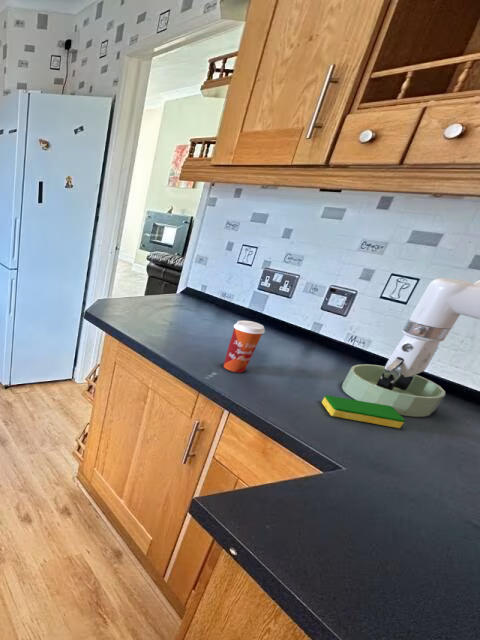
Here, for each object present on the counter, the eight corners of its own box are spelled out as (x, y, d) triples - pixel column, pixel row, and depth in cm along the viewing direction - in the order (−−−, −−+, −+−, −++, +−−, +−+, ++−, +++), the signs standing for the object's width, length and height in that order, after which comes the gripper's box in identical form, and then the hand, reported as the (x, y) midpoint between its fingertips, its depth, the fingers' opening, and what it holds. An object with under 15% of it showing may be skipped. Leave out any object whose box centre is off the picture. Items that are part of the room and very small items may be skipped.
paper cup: (223, 372, 122) (240, 327, 115) (216, 361, 128) (231, 318, 122) (252, 375, 120) (271, 330, 114) (244, 364, 127) (260, 321, 120)
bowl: (446, 407, 107) (459, 389, 104) (411, 423, 100) (424, 404, 97) (363, 376, 121) (372, 360, 119) (327, 388, 114) (336, 371, 112)
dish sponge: (400, 429, 98) (406, 420, 97) (330, 416, 102) (335, 408, 101) (386, 414, 104) (391, 405, 102) (320, 402, 108) (325, 394, 107)
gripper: (428, 341, 95) (389, 404, 103) (462, 330, 102) (422, 391, 110) (388, 329, 101) (354, 390, 109) (423, 320, 108) (388, 379, 116)
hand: (389, 390), depth 110 cm, fingers open, 8 cm apart
